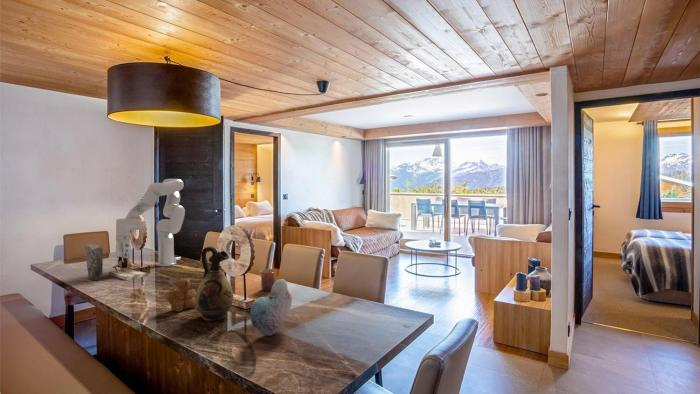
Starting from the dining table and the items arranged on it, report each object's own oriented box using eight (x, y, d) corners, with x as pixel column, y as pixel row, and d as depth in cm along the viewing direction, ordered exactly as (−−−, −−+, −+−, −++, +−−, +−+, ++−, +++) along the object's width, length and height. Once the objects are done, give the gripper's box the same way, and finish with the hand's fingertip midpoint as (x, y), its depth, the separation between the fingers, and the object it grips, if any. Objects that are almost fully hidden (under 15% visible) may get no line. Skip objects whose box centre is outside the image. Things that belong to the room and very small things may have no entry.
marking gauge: (128, 265, 231) (125, 257, 229) (132, 266, 228) (128, 258, 227) (114, 273, 224) (110, 265, 222) (117, 274, 221) (113, 265, 220)
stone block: (84, 278, 216) (83, 244, 215) (97, 275, 221) (97, 243, 220) (92, 281, 208) (91, 247, 207) (106, 279, 213) (105, 245, 213)
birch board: (127, 271, 232) (127, 268, 232) (146, 276, 220) (146, 272, 220) (109, 275, 222) (108, 271, 222) (126, 280, 211) (126, 276, 210)
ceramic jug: (240, 311, 160) (239, 245, 159) (220, 325, 145) (219, 251, 144) (206, 308, 164) (205, 243, 162) (183, 321, 149) (182, 249, 147)
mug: (272, 292, 188) (272, 273, 187) (256, 291, 189) (256, 272, 189) (281, 286, 199) (281, 267, 199) (266, 285, 201) (266, 267, 201)
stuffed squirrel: (201, 304, 170) (201, 276, 169) (181, 315, 156) (180, 285, 156) (183, 302, 172) (182, 275, 172) (161, 313, 158) (160, 283, 158)
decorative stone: (262, 347, 125) (261, 290, 125) (243, 341, 130) (242, 287, 129) (298, 326, 144) (298, 277, 143) (280, 322, 148) (280, 274, 147)
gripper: (136, 238, 224) (135, 268, 224) (122, 236, 233) (122, 264, 233) (123, 240, 218) (122, 270, 218) (109, 237, 227) (109, 266, 227)
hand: (122, 267), depth 226 cm, fingers closed on marking gauge, 4 cm apart
